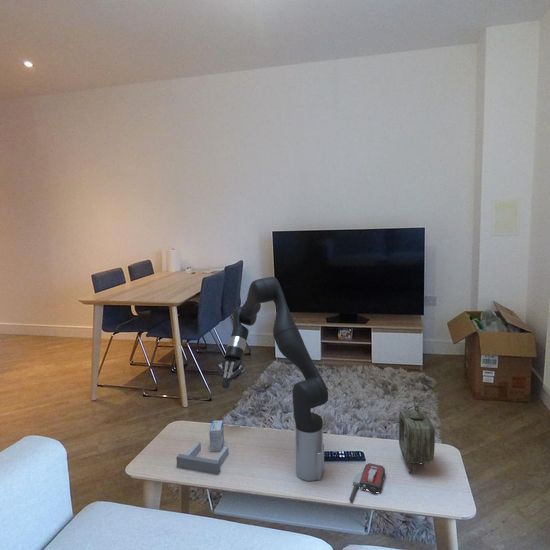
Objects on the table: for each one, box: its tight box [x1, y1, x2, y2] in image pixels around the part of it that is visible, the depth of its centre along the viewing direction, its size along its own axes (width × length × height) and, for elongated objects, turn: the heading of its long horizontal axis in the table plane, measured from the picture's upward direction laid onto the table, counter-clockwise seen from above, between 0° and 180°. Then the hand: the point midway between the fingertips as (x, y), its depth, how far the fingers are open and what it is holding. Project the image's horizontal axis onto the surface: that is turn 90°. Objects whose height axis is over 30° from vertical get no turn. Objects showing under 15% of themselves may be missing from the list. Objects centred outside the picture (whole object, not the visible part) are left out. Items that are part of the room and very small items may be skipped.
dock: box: [176, 441, 230, 476], centre depth 149 cm, size 16×12×4 cm
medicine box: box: [208, 420, 225, 452], centre depth 159 cm, size 8×4×9 cm, turn 0°
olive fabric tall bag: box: [398, 395, 436, 474], centre depth 144 cm, size 14×9×25 cm, turn 175°
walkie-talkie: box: [348, 462, 386, 502], centre depth 134 cm, size 9×4×20 cm
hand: (224, 388), depth 165 cm, fingers closed
